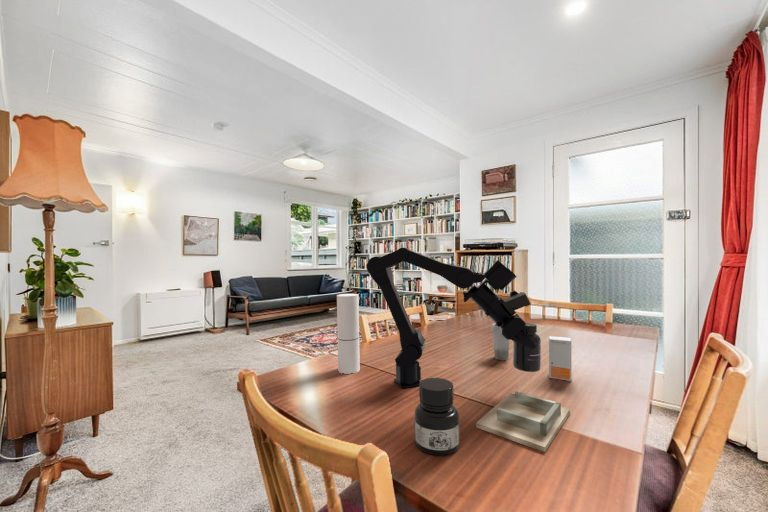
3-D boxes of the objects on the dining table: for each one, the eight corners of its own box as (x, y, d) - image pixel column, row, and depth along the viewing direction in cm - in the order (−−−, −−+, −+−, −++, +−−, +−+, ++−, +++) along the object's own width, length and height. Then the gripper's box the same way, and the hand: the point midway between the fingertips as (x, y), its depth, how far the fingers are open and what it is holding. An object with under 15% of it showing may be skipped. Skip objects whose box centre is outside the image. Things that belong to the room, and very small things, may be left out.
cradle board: (476, 427, 71) (475, 411, 71) (510, 396, 86) (510, 383, 86) (544, 452, 62) (544, 434, 62) (570, 413, 77) (569, 398, 77)
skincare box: (549, 378, 98) (548, 338, 98) (549, 373, 102) (548, 335, 102) (572, 381, 96) (571, 341, 95) (571, 376, 99) (571, 337, 99)
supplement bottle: (537, 374, 84) (537, 328, 84) (510, 369, 88) (509, 324, 88) (543, 367, 89) (543, 323, 89) (517, 362, 93) (517, 320, 93)
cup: (487, 356, 120) (486, 324, 120) (501, 354, 123) (500, 322, 123) (501, 362, 114) (501, 327, 113) (515, 359, 116) (515, 325, 116)
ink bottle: (411, 454, 62) (410, 392, 62) (414, 430, 71) (413, 374, 71) (463, 458, 61) (462, 394, 61) (460, 433, 69) (459, 376, 69)
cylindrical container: (361, 366, 112) (360, 293, 112) (357, 374, 105) (356, 296, 104) (340, 366, 112) (339, 293, 112) (335, 373, 105) (334, 296, 105)
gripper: (516, 285, 80) (565, 332, 78) (506, 279, 99) (546, 317, 96) (483, 316, 82) (530, 362, 80) (479, 304, 100) (518, 342, 98)
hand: (532, 344), depth 88 cm, fingers closed on supplement bottle, 7 cm apart
